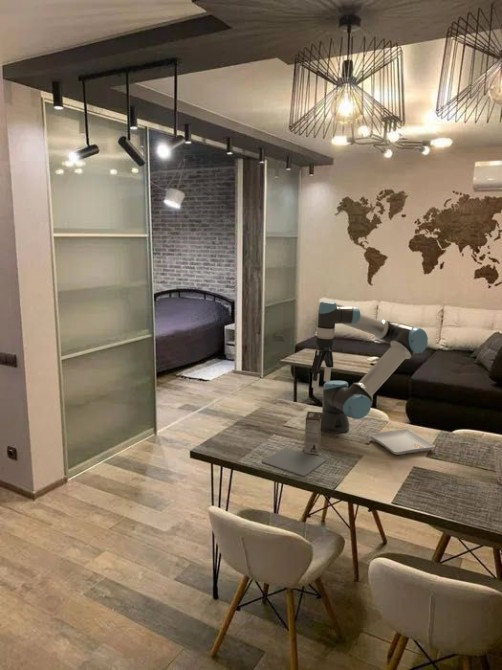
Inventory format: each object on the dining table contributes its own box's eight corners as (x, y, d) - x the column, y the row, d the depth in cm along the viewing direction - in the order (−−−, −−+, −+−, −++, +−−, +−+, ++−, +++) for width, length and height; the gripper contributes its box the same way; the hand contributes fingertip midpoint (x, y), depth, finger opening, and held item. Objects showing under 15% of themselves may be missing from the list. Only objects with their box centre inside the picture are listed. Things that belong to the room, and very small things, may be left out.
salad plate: (394, 459, 212) (395, 451, 211) (367, 440, 232) (367, 433, 231) (436, 453, 219) (436, 445, 218) (406, 435, 238) (406, 428, 238)
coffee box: (306, 445, 224) (307, 410, 221) (320, 446, 223) (322, 412, 219) (303, 453, 215) (305, 417, 212) (319, 455, 214) (320, 419, 211)
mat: (285, 448, 220) (285, 447, 220) (326, 460, 208) (326, 459, 208) (262, 462, 205) (262, 461, 205) (304, 476, 194) (304, 475, 194)
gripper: (327, 332, 230) (323, 377, 234) (305, 339, 209) (301, 388, 213) (343, 334, 227) (339, 380, 230) (322, 342, 205) (318, 392, 209)
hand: (321, 384), depth 221 cm, fingers open, 13 cm apart
